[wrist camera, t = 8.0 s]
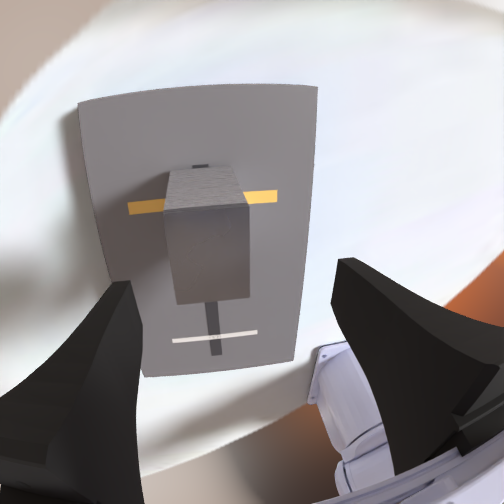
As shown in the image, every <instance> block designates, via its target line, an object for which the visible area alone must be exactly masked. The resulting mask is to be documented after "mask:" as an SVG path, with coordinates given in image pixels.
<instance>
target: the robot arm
mask: <svg viewBox="0 0 504 504" xmlns="http://www.w3.org/2000/svg"><path fill="white" fill-rule="evenodd" d="M331 306H332V309H333V312H334V315H335V317H336V320H337V322H338V325H339V327H340V329H341V331H342V333H343V335H344V337H345V338H346V340H347V342H344V343H339V344H334V345H329V346H324V347H322V348H320V349H319V351H318V356H317V361H316V365H315V369H314V374H313V378H312V382H311V386H310V391H309V395H308V399H307V403H308V404H309V405H312V404H316V403H317V406H318V408H319V411H320V414H321V416H322V419H323V422H324V424H325V427H326V429H327V432H328V435H329V437H330V440H331V443H332V445H333V447H334V448H335V449H336V450H337V451H338V452H339V453H341V455H342V458H343V460H342V461H340V462H339V463H338V465H337V469H336V471H335V482H336V486H337V489H338V492H339V495H340V496H338V497H335V498H332V499H328V500H325V501H321V502H317V503H313V504H396V503H398V502H400V501H402V500H403V501H402V502H401V503H400V504H502V503H503V502H504V327H499V326H495V325H491V324H488V323H484V322H481V321H477V320H474V319H471V318H468V317H466V316H463V315H460V314H457V313H455V312H452V311H450V310H448V309H445V308H443V307H441V306H439V305H437V304H435V303H432V302H430V301H428V300H426V299H424V298H423V297H421V296H419V295H417V294H415V293H413V292H412V291H410V290H408V289H406V288H405V287H403V286H401V285H400V284H398V283H396V282H395V281H393V280H391V279H390V278H388V277H386V276H385V275H383V274H382V273H380V272H378V271H377V270H375V269H373V268H372V267H370V266H368V265H367V264H365V263H363V262H361V261H360V260H358V259H356V258H354V257H352V258H343V259H338V263H337V269H336V275H335V281H334V287H333V293H332V298H331ZM142 352H143V324H142V321H141V317H140V314H139V310H138V307H137V303H136V299H135V296H134V292H133V288H132V284H131V280H127V281H115V282H113V283H112V284H111V285H110V287H109V288H108V289H107V290H106V292H105V293H104V294H103V296H102V297H101V298H100V299H99V301H98V302H97V303H96V305H95V306H94V307H93V308H92V310H91V311H90V312H89V314H88V315H87V316H86V317H85V319H84V320H83V321H82V322H81V323H80V325H79V326H78V327H77V328H76V329H75V330H74V332H73V333H72V334H71V335H70V336H69V338H68V339H67V340H66V341H65V342H64V343H63V344H62V345H61V346H60V347H59V348H58V349H57V350H56V351H55V352H54V353H53V354H52V355H51V356H50V357H49V358H48V359H47V360H46V361H45V362H44V363H43V364H42V365H41V366H40V367H38V368H37V369H36V370H35V371H34V372H33V373H32V374H30V375H29V376H28V377H27V378H26V379H25V380H23V381H22V382H21V383H19V384H18V385H17V386H16V387H14V388H13V389H12V390H10V391H9V392H7V393H6V394H4V395H3V396H2V397H0V484H1V488H0V504H145V503H144V498H143V492H142V486H141V478H140V470H139V461H138V449H137V433H136V404H137V394H138V385H139V377H140V368H141V360H142ZM421 490H422V491H421ZM419 491H420V492H419ZM417 492H418V493H417ZM410 496H411V497H410ZM408 497H409V498H408ZM406 498H407V499H406ZM404 499H405V500H404Z"/></svg>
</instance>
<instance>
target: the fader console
mask: <svg viewBox="0 0 504 504" xmlns="http://www.w3.org/2000/svg"><path fill="white" fill-rule="evenodd" d="M317 93H318V87H315V86H307V85H290V84H220V85H201V86H186V87H175V88H165V89H156V90H147V91H140V92H133V93H126V94H120V95H113V96H108V97H102V98H97V99H92V100H87V101H84V102H80V103H78V113H79V122H80V131H81V139H82V146H83V153H84V160H85V166H86V172H87V178H88V184H89V189H90V194H91V199H92V204H93V209H94V214H95V219H96V223H97V228H98V232H99V236H100V240H101V244H102V248H103V252H104V256H105V260H106V264H107V267H108V271H109V275H110V278H111V282H112V283H113V282H115V281H127V280H131V284H132V288H133V292H134V296H135V299H136V303H137V307H138V310H139V314H140V317H141V321H142V324H143V352H142V360H141V370H142V373H143V375H144V377H160V376H174V375H187V374H198V373H208V372H217V371H226V370H235V369H242V368H250V367H257V366H264V365H270V364H277V363H283V362H289V361H293V359H294V352H295V345H296V338H297V330H298V322H299V315H300V307H301V298H302V290H303V281H304V272H305V262H306V253H307V243H308V232H309V221H310V209H311V197H312V184H313V170H314V154H315V137H316V117H317ZM222 166H231V167H232V169H233V171H234V173H235V176H236V178H237V180H238V182H239V184H240V187H241V189H242V191H243V193H244V196H245V198H246V200H247V202H248V204H249V207H250V298H242V299H233V300H224V301H214V302H204V303H194V304H184V305H177V302H176V297H175V291H174V285H173V280H172V274H171V267H170V261H169V255H168V248H167V242H166V235H165V227H164V220H163V210H164V204H165V198H166V193H167V187H168V182H169V176H170V171H173V170H184V169H195V168H208V167H222Z"/></svg>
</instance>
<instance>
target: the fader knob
mask: <svg viewBox="0 0 504 504" xmlns="http://www.w3.org/2000/svg"><path fill="white" fill-rule="evenodd" d="M163 220H164V227H165V235H166V242H167V248H168V255H169V261H170V267H171V274H172V280H173V285H174V291H175V297H176V302H177V305H184V304H194V303H204V302H214V301H224V300H233V299H242V298H250V207H249V204H248V202H247V200H246V198H245V196H244V193H243V191H242V189H241V187H240V184H239V182H238V180H237V178H236V176H235V173H234V171H233V169H232V167H231V166H222V167H208V168H195V169H184V170H173V171H170V176H169V182H168V187H167V193H166V198H165V204H164V210H163Z"/></svg>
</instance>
